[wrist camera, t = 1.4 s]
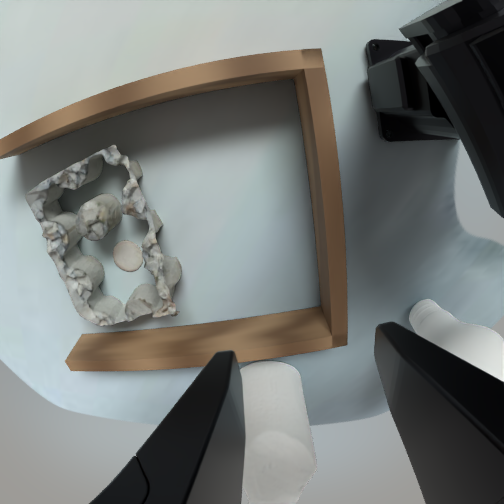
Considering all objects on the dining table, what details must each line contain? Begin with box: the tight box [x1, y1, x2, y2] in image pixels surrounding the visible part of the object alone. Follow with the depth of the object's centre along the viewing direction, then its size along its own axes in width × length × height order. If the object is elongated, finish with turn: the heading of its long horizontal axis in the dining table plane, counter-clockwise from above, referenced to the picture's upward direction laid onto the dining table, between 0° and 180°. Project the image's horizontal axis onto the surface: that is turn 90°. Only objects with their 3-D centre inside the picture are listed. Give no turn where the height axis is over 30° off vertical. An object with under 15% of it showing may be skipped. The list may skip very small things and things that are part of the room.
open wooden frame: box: [0, 48, 348, 371], centre depth 18 cm, size 20×17×4 cm
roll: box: [240, 361, 317, 504], centre depth 19 cm, size 6×12×6 cm
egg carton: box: [25, 145, 182, 326], centre depth 18 cm, size 11×8×4 cm
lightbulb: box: [409, 299, 504, 382], centre depth 17 cm, size 6×6×11 cm
